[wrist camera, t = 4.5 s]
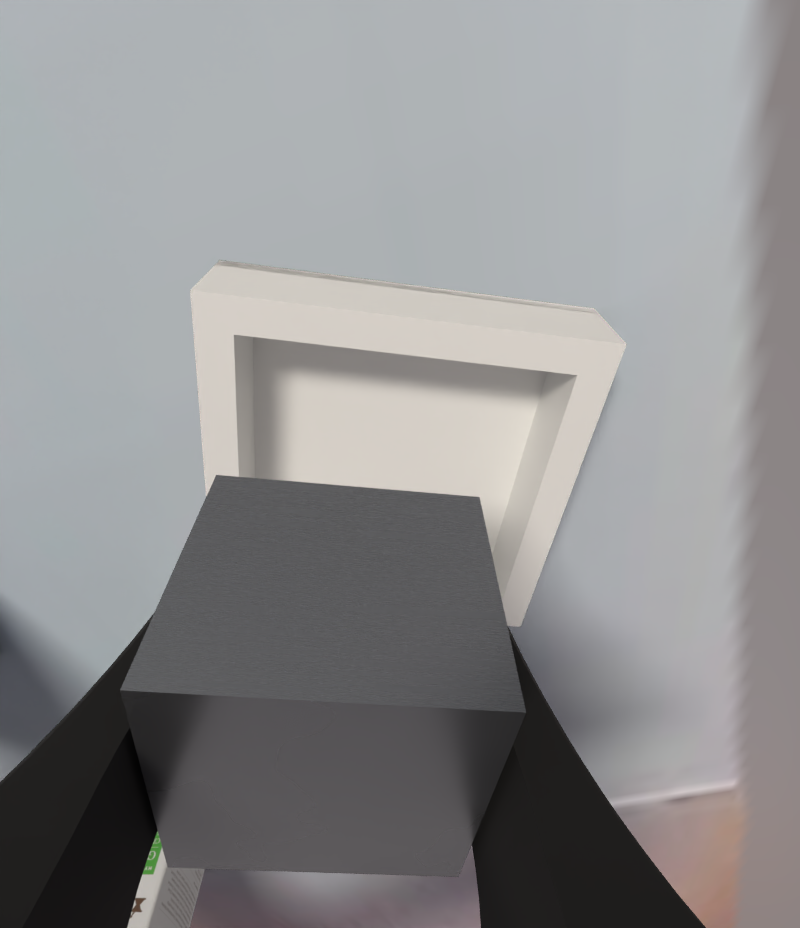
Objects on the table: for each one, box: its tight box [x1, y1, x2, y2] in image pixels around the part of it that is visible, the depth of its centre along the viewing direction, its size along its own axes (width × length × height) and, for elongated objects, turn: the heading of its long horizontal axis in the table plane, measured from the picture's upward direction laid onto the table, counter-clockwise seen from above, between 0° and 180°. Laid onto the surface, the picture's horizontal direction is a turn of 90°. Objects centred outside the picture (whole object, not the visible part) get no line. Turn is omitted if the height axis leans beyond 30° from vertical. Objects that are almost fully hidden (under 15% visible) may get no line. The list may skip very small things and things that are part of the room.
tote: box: [190, 260, 627, 627], centre depth 18 cm, size 11×11×3 cm
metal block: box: [120, 475, 526, 877], centre depth 10 cm, size 5×5×4 cm
